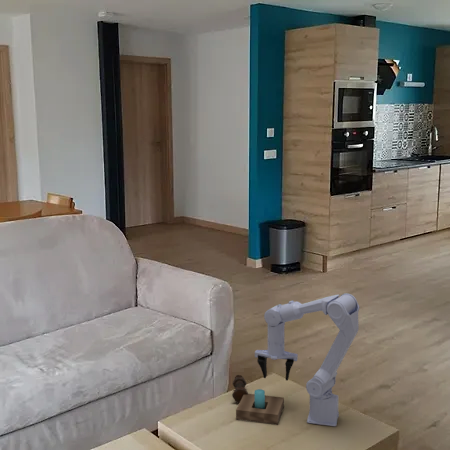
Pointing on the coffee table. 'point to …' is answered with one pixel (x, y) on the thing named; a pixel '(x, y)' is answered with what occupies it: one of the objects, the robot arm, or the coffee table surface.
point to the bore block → (266, 415)
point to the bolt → (239, 388)
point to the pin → (260, 399)
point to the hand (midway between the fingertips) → (276, 378)
